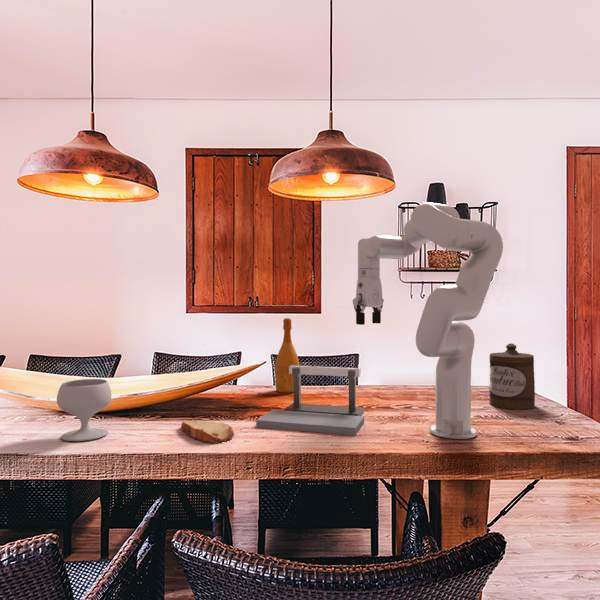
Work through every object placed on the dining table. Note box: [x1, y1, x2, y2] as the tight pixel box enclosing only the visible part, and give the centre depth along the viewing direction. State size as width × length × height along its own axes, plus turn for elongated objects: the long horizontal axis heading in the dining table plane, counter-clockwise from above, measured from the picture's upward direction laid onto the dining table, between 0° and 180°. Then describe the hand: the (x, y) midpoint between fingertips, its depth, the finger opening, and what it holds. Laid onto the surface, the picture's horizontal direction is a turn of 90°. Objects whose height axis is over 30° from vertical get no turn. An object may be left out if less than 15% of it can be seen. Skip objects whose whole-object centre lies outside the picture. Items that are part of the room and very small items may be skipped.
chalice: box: [56, 378, 112, 442], centre depth 136 cm, size 14×14×15 cm
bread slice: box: [180, 420, 235, 444], centre depth 138 cm, size 18×18×4 cm
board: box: [255, 409, 365, 436], centre depth 147 cm, size 14×30×2 cm, turn 73°
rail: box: [289, 365, 362, 378], centre depth 163 cm, size 2×24×2 cm, turn 73°
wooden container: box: [488, 343, 536, 410], centre depth 174 cm, size 15×15×22 cm
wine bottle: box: [274, 317, 300, 394], centre depth 200 cm, size 10×10×30 cm
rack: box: [283, 368, 365, 416], centre depth 163 cm, size 10×25×15 cm, turn 73°
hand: (368, 323), depth 169 cm, fingers open, 9 cm apart
